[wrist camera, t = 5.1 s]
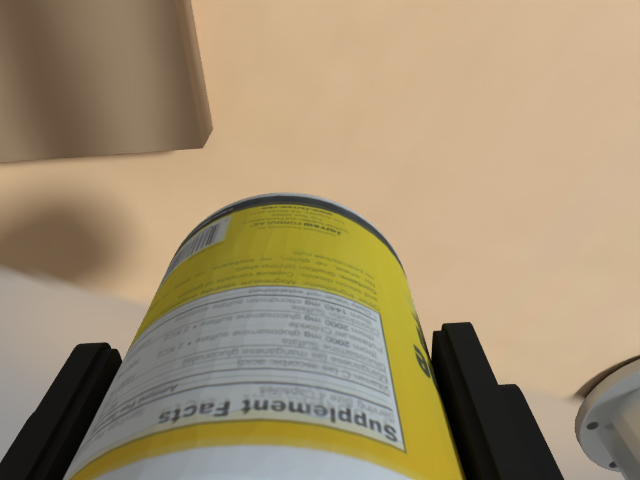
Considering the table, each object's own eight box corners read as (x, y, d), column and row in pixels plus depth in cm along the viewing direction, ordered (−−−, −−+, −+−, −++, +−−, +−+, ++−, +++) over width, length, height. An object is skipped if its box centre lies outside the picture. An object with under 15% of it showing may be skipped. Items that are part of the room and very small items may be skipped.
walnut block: (163, -157, 20) (142, -173, 18) (213, 129, 26) (202, 148, 24) (-127, -135, 21) (-190, -148, 18) (-12, 144, 26) (-47, 165, 24)
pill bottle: (330, 401, 16) (356, 1153, 6) (138, 324, 14) (-276, 1170, 4) (452, 249, 13) (884, 1156, 3) (231, 134, 12) (-296, 1214, 2)
